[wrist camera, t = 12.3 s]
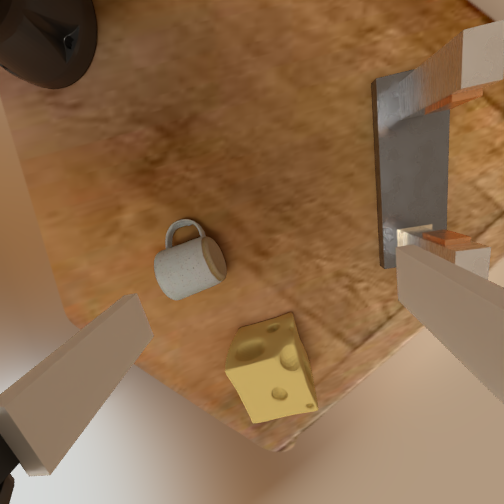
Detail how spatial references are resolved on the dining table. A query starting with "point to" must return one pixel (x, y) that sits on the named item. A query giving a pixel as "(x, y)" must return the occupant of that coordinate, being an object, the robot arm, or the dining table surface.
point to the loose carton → (452, 248)
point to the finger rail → (425, 131)
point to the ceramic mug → (189, 264)
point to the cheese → (271, 370)
